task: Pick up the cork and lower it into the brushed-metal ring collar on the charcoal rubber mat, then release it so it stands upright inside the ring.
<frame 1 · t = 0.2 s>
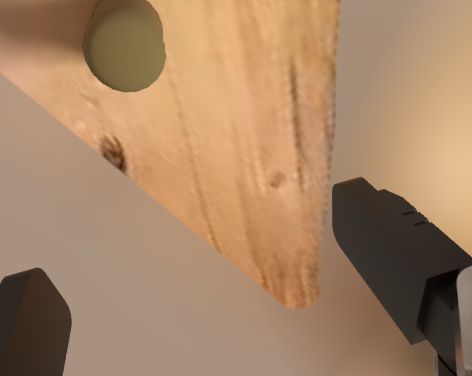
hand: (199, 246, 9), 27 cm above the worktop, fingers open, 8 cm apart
cork: (128, 30, 30), on the worktop
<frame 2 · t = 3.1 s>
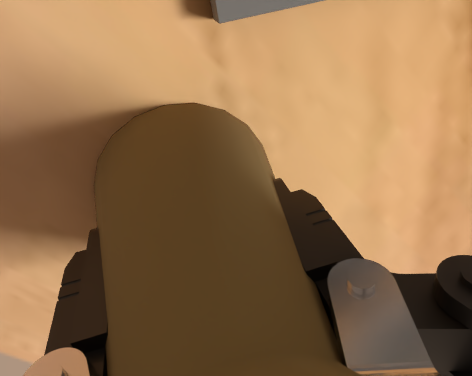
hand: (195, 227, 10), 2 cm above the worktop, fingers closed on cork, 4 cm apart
cork: (186, 184, 12), on the worktop, touching gripper
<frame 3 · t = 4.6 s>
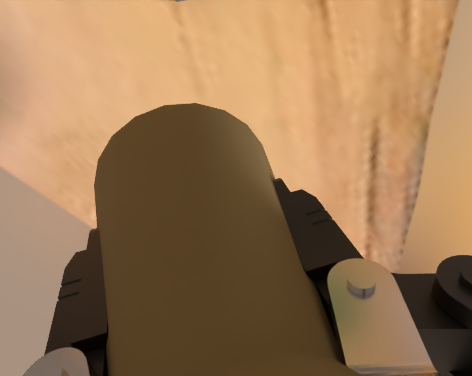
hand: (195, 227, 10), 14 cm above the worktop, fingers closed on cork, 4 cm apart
cork: (186, 184, 12), point 11 cm above the worktop, touching gripper
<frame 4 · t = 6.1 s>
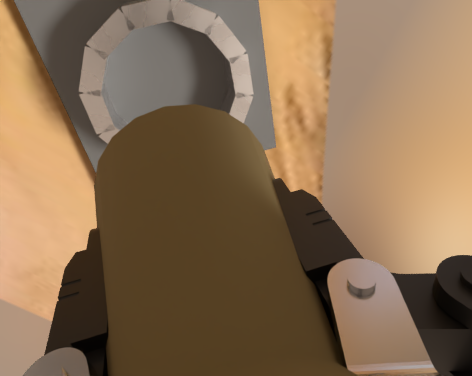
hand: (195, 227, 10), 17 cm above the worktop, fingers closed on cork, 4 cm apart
cork: (186, 184, 12), point 14 cm above the worktop, touching gripper
ring collar: (169, 88, 23), on the fitting mat, point 2 cm above the worktop
fitting mat: (167, 80, 24), on the worktop
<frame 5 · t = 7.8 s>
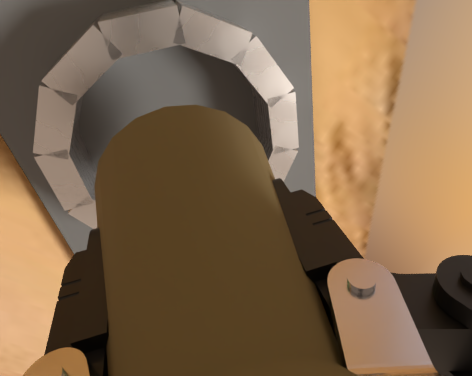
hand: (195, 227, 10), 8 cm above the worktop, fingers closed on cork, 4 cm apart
cork: (186, 185, 12), point 6 cm above the worktop, touching gripper
ring collar: (175, 139, 15), on the fitting mat, point 2 cm above the worktop
fitting mat: (171, 122, 17), on the worktop
when the fingers open (5 cm above the worktop, at t = 9.3 s): cork drops 2 cm, resting on fitting mat.
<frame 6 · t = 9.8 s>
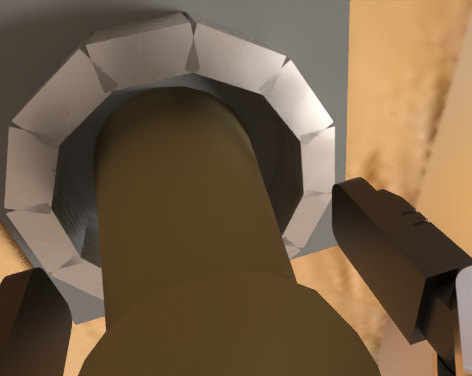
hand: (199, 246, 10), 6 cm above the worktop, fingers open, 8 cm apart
cork: (176, 161, 14), point 1 cm above the worktop, touching fitting mat
ring collar: (184, 181, 12), on the fitting mat, point 2 cm above the worktop
fitting mat: (178, 155, 14), on the worktop
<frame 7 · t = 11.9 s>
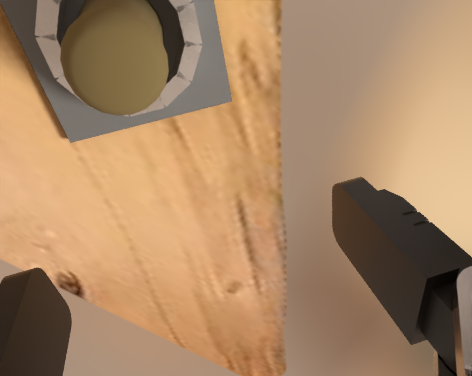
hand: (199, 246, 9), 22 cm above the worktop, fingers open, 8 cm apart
cork: (122, 33, 25), point 1 cm above the worktop, touching fitting mat
ring collar: (123, 37, 24), on the fitting mat, point 2 cm above the worktop
fitting mat: (124, 32, 26), on the worktop
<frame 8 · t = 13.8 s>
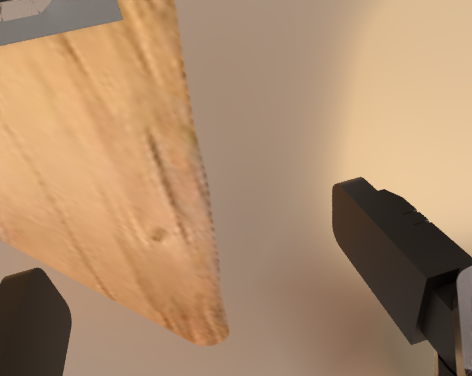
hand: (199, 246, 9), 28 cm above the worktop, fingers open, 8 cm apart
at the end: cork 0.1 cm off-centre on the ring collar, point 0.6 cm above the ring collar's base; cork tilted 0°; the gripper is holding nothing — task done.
